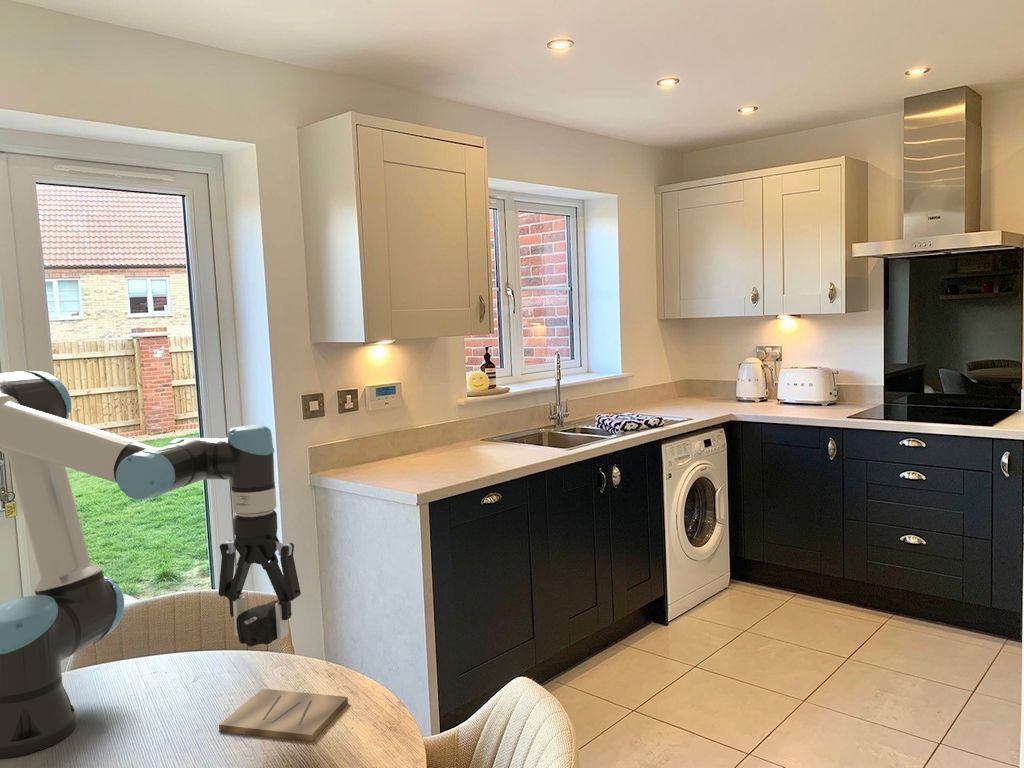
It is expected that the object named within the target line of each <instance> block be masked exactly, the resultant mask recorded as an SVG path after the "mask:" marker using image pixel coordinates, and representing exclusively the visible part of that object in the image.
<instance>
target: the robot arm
mask: <svg viewBox="0 0 1024 768" xmlns="http://www.w3.org/2000/svg"><path fill="white" fill-rule="evenodd" d="M71 412H72V398H71V395H70V393H69V391H68V388H67V387H66V386H65V385H64V383H63V382H62V381H61V380H60V379H59V378H57V377H55V376H54V375H52V374H50V373H49V372H44V371H38V370H37V371H31V370H22V371H13V372H3V373H0V452H1V453H3V454H4V455H6V456H7V457H8V461H9V464H10V467H11V471H12V475H13V479H14V483H15V486H16V490H17V493H18V497H19V501H20V505H21V508H22V513H23V515H24V519H25V523H26V527H27V530H28V534H29V538H30V542H31V546H32V549H33V553H34V556H35V561H36V564H37V568H38V572H39V574H40V575H39V577H40V578H39V581H38V582H37V584H36V585H35V587H34V588H33V589H34V593H35V594H33V595H27V596H22V597H20V598H18V599H12V600H9V601H7V602H4V603H3V604H0V759H4V758H5V759H9V758H15V757H20V756H21V757H22V756H26V755H28V754H29V755H30V754H32V753H35V752H39V751H41V750H43V749H46V748H49V747H51V746H53V745H55V744H57V743H59V742H61V741H62V740H64V739H65V738H67V737H68V736H69V735H70V734H71V733H72V732H73V731H74V730H75V728H76V727H77V714H76V713H77V712H76V709H75V707H74V706H73V704H72V702H71V700H70V698H69V695H68V692H67V691H66V688H65V687H64V685H63V684H64V683H63V677H62V676H63V674H62V661H63V660H65V659H68V658H69V657H71V656H72V655H75V654H77V653H79V652H80V651H83V649H86V647H89V646H91V645H92V644H97V643H99V642H100V641H101V640H102V639H104V638H105V637H106V636H108V635H109V634H110V633H112V632H113V631H114V630H115V629H116V628H117V627H118V625H119V623H120V621H122V618H123V616H124V611H125V598H124V593H123V592H122V589H121V587H120V586H119V584H118V583H115V582H114V579H112V578H110V577H107V576H105V575H104V572H103V568H102V567H100V566H99V565H96V564H95V563H93V562H91V558H90V554H89V550H88V547H87V542H86V539H85V535H84V532H83V527H82V523H81V521H80V517H79V513H78V509H77V505H76V501H75V498H74V495H73V491H72V488H71V487H72V486H71V482H70V479H69V476H68V472H67V468H69V469H71V470H74V471H77V472H81V473H84V474H86V475H90V476H94V477H97V478H100V479H102V480H105V481H109V482H113V483H115V484H117V486H118V488H119V489H120V490H121V491H122V492H123V493H124V494H125V496H127V497H128V498H131V499H133V500H146V499H152V498H157V497H160V496H163V495H164V494H166V493H168V492H172V491H174V490H176V489H180V488H182V487H186V486H189V485H192V484H195V483H198V482H200V481H207V480H229V481H230V486H231V503H232V504H231V505H232V512H233V513H235V514H234V515H233V517H232V524H233V534H234V536H235V538H234V540H231V539H230V540H228V541H227V540H226V541H225V542H223V543H221V544H219V549H220V554H221V562H220V573H219V583H218V584H219V585H218V596H220V597H224V598H227V599H228V602H229V614H230V617H233V624H234V626H233V627H234V637H238V633H237V623H236V619H237V617H238V616H239V615H240V614H241V613H243V612H245V611H246V610H247V607H246V597H245V595H243V592H242V591H243V589H244V586H245V584H246V581H247V576H248V574H249V571H250V568H251V565H252V564H257V565H261V567H262V569H263V570H265V572H266V574H267V576H268V577H267V578H268V579H269V582H270V583H271V586H272V588H273V591H274V593H275V594H276V597H277V600H279V602H278V603H276V604H275V608H276V626H277V639H276V640H278V641H279V640H283V639H284V638H285V637H286V636H287V635H289V631H290V630H289V619H291V618H292V614H293V613H292V601H294V600H296V599H297V598H298V597H300V596H301V594H302V592H301V587H300V581H299V578H298V574H297V568H296V563H295V559H294V558H295V557H294V551H295V550H294V549H295V544H294V543H293V542H289V543H284V542H280V540H279V538H278V534H277V533H278V517H277V516H278V513H277V511H276V510H275V509H276V508H277V497H276V496H277V491H276V483H275V481H276V480H275V463H274V462H275V461H274V453H275V449H274V444H273V435H272V430H271V429H270V428H269V427H268V426H266V425H258V424H255V425H254V424H253V425H241V426H234V427H231V428H229V430H228V432H227V437H220V438H219V437H194V436H189V437H183V438H175V439H172V440H171V441H170V442H169V444H168V445H165V446H161V447H157V446H153V445H149V444H147V443H143V442H139V441H136V440H135V439H130V438H127V437H124V436H120V435H118V434H114V433H111V432H107V431H104V430H101V429H97V428H96V427H95V428H94V427H91V426H88V425H84V424H82V423H79V422H76V421H72V420H69V418H70V414H69V413H71ZM236 551H237V553H238V554H239V557H238V559H237V563H236V566H237V567H236V570H235V560H236ZM277 551H278V553H277V554H276V552H277ZM277 555H278V556H280V557H279V559H280V564H281V566H280V565H279V559H278V556H277ZM280 567H281V568H280ZM234 571H235V574H234Z"/></svg>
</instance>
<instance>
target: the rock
mask: <svg viewBox="0 0 1024 768" xmlns="http://www.w3.org/2000/svg"><path fill="white" fill-rule="evenodd" d="M278 602H279V600H278V599H277V600H273V601H270V602H267V603H265V604H260V605H259V604H257V605H256V606H254V607H251V608H249V609H246V611H245V612H243V613H241V614H240V615H239V616H238V617H237V619H236V623H237V633H238V636H237V637H238V641H239V643H240V644H244V645H245V644H246V645H247V647H249V648H252V647H255V646H258V645H269V644H271V643H272V642H274V641H276V640H278V639H277V626H276V608H275V604H276V603H278Z"/></svg>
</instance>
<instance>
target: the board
mask: <svg viewBox="0 0 1024 768" xmlns="http://www.w3.org/2000/svg"><path fill="white" fill-rule="evenodd" d="M348 704H349V697H348V696H345V695H344V696H342V695H332V694H331V695H330V694H322V693H321V694H320V693H310V692H309V693H308V692H301V691H290V690H280V689H268V688H261V689H259V691H257V692H256V693H255V694H254V695H253V696H251V697H250V698H249V699H248V700H247V701H245V702H244V703H243V704H242V705H241V706H239V707H238V708H237V709H235V711H233V712H232V713H231V714H230V715H228V717H225V719H224V720H223V721H221V722H220V723H219V724H218V732H221V733H222V732H224V733H230V734H231V733H233V734H239V735H240V734H242V735H247V736H248V735H249V736H259V737H267V738H276V739H283V740H293V741H302V742H310V743H311V742H313V741H314V740H315V739H316V738H317V737H318V736H319V735H320V734H321V733H322V732H323V730H324V729H325V728H326V727H327V726H328V725H329V724H330V723H331V722H332V721H333V720H334V718H336V716H337V715H339V713H340V712H341V711H342V710H343V709H344V708H345V707H346V706H347V705H348Z"/></svg>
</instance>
